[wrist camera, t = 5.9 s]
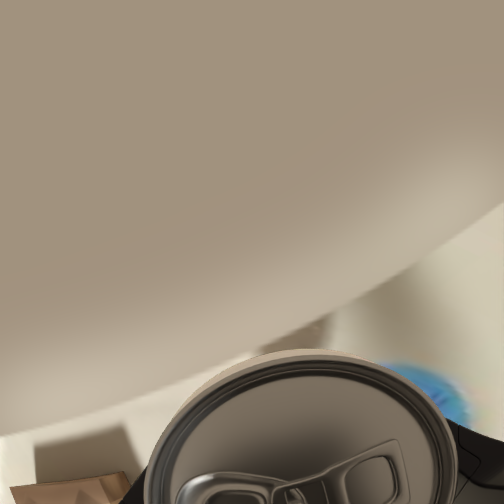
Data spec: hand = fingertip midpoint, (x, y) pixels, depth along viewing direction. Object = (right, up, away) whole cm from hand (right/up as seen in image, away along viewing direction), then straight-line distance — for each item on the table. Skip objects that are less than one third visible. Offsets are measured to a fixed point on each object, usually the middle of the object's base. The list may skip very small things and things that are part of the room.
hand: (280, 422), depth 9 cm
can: (+1, -4, +5) cm, 7 cm away
